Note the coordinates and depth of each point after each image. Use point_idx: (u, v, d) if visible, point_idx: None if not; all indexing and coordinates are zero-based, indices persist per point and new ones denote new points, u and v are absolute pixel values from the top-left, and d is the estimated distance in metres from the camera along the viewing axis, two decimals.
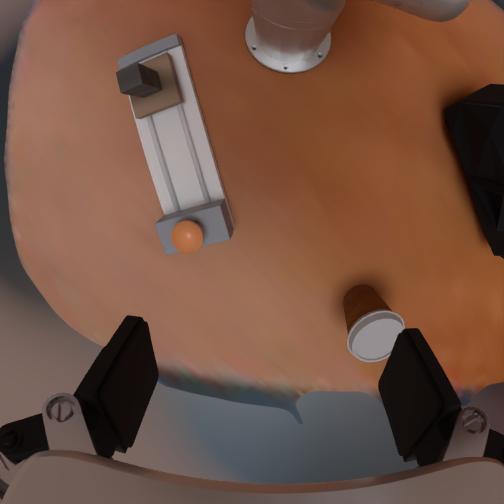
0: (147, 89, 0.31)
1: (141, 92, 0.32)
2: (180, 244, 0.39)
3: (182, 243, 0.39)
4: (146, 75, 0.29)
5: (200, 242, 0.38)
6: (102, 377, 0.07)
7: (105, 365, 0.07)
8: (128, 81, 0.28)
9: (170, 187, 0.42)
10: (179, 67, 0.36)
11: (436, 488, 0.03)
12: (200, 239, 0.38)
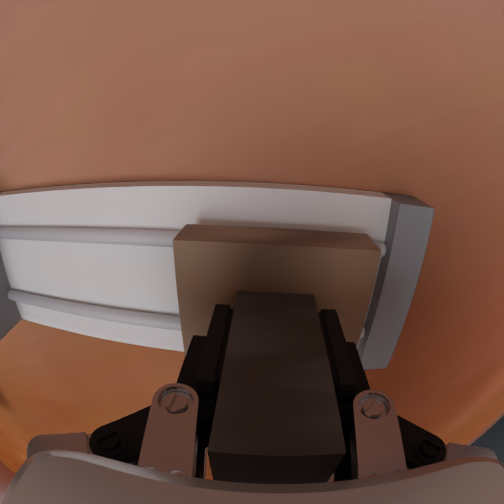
0: None
1: None
2: None
3: None
4: None
5: None
6: (217, 362, 0.08)
7: (213, 351, 0.08)
8: (253, 476, 0.06)
9: (20, 238, 0.14)
10: None
11: (436, 488, 0.03)
12: None
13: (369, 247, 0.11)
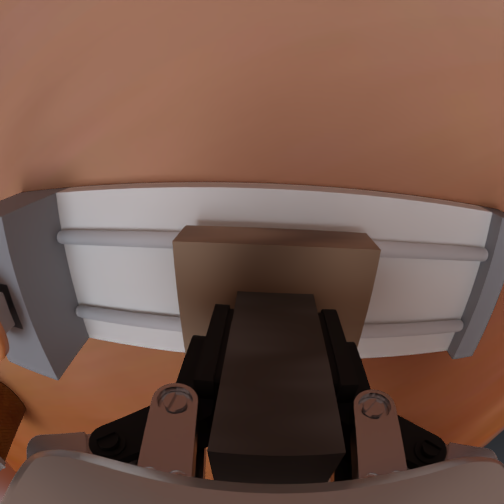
0: None
1: None
2: None
3: None
4: None
5: None
6: (216, 362, 0.08)
7: (213, 351, 0.08)
8: (253, 476, 0.06)
9: (110, 244, 0.14)
10: (410, 343, 0.16)
11: (436, 488, 0.03)
12: None
13: (368, 246, 0.11)
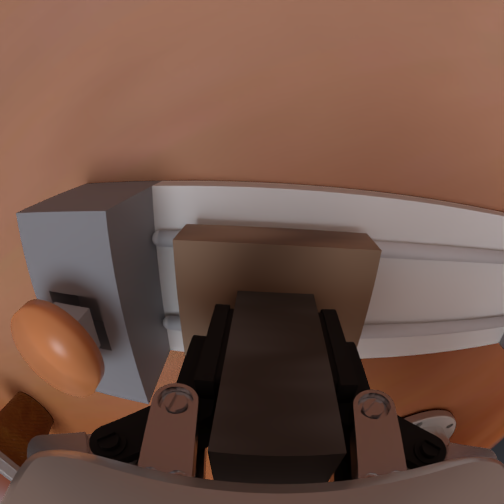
0: None
1: None
2: (28, 331, 0.08)
3: (32, 338, 0.08)
4: None
5: (46, 379, 0.09)
6: (216, 362, 0.08)
7: (213, 351, 0.08)
8: (253, 476, 0.06)
9: None
10: (476, 337, 0.16)
11: (436, 488, 0.03)
12: (53, 383, 0.09)
13: (369, 247, 0.11)
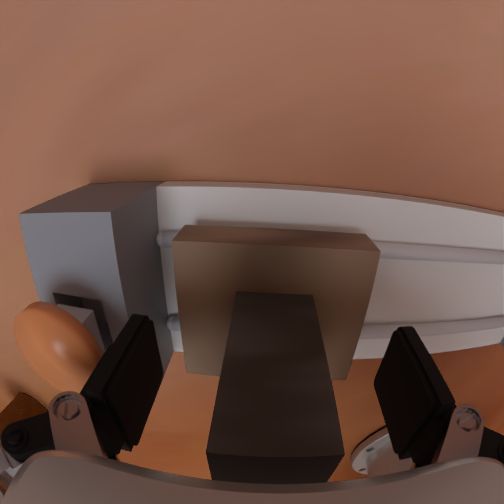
0: None
1: None
2: (31, 334, 0.08)
3: (35, 341, 0.08)
4: None
5: (49, 382, 0.09)
6: (110, 376, 0.07)
7: (112, 363, 0.07)
8: (251, 477, 0.06)
9: None
10: (477, 337, 0.16)
11: (436, 488, 0.03)
12: (57, 386, 0.09)
13: (368, 247, 0.11)
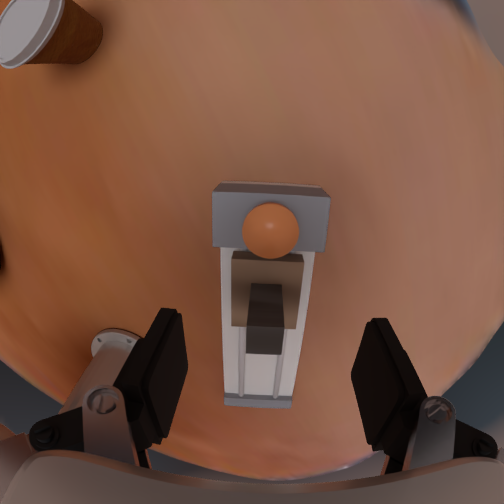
0: (257, 303, 0.26)
1: (270, 301, 0.26)
2: (286, 224, 0.22)
3: (281, 225, 0.22)
4: None
5: (249, 218, 0.22)
6: (146, 367, 0.07)
7: (146, 355, 0.08)
8: (266, 336, 0.23)
9: None
10: (231, 377, 0.39)
11: (436, 488, 0.03)
12: (247, 222, 0.23)
13: (295, 324, 0.31)
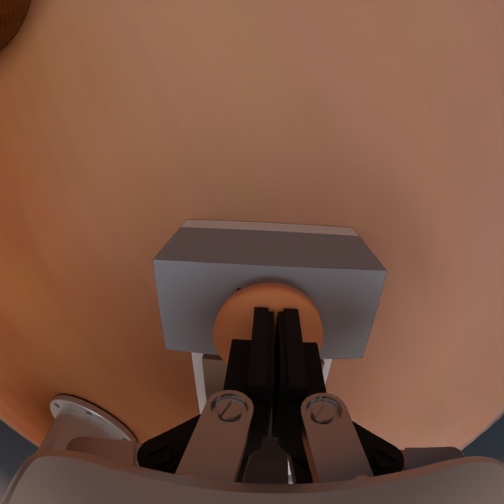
0: None
1: None
2: None
3: None
4: None
5: (226, 316, 0.11)
6: (267, 367, 0.08)
7: (261, 355, 0.08)
8: None
9: None
10: None
11: (436, 488, 0.03)
12: (223, 324, 0.11)
13: None
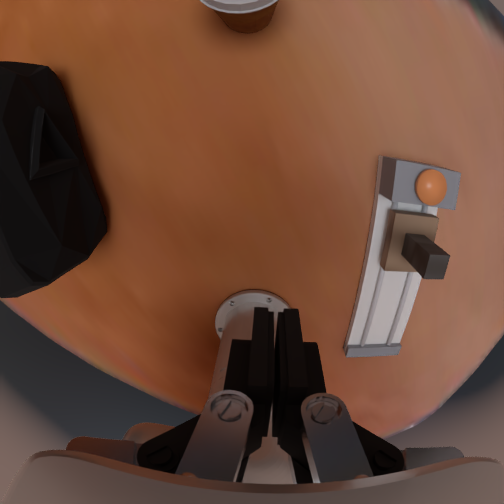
0: (422, 243, 0.31)
1: (428, 243, 0.31)
2: (441, 183, 0.29)
3: (438, 183, 0.29)
4: (419, 259, 0.30)
5: (423, 177, 0.29)
6: (267, 367, 0.08)
7: (261, 355, 0.08)
8: (439, 263, 0.28)
9: None
10: (358, 327, 0.44)
11: (436, 488, 0.03)
12: (421, 180, 0.29)
13: None
